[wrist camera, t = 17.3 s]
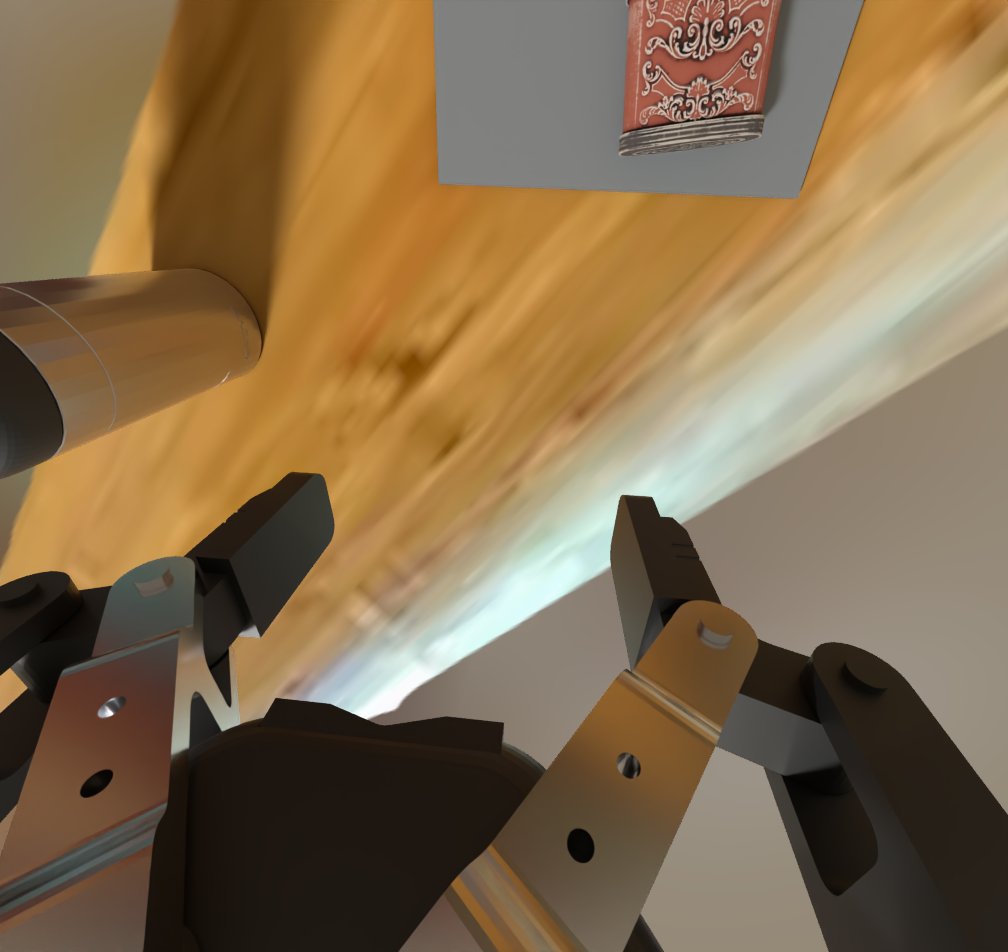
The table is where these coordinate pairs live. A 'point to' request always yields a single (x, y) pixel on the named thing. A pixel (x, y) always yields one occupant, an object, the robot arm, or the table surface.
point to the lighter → (696, 73)
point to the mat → (612, 100)
